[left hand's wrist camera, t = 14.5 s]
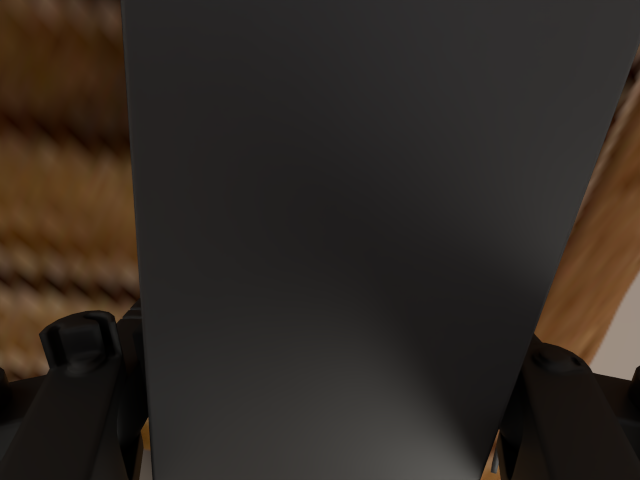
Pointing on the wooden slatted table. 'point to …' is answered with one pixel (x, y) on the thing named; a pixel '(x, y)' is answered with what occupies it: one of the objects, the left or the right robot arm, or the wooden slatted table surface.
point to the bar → (354, 221)
